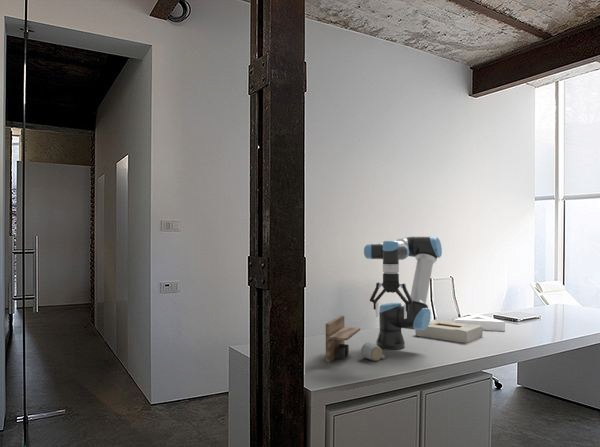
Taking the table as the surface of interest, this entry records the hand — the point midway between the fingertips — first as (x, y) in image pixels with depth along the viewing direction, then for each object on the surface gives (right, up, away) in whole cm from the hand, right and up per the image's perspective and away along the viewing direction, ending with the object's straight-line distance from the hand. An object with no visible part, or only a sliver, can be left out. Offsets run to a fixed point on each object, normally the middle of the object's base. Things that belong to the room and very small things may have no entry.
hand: (391, 317), depth 230 cm
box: (+45, -23, +56) cm, 76 cm away
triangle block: (+74, -24, +88) cm, 117 cm away
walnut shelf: (-22, -21, +9) cm, 31 cm away
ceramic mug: (-8, -21, +4) cm, 23 cm away
